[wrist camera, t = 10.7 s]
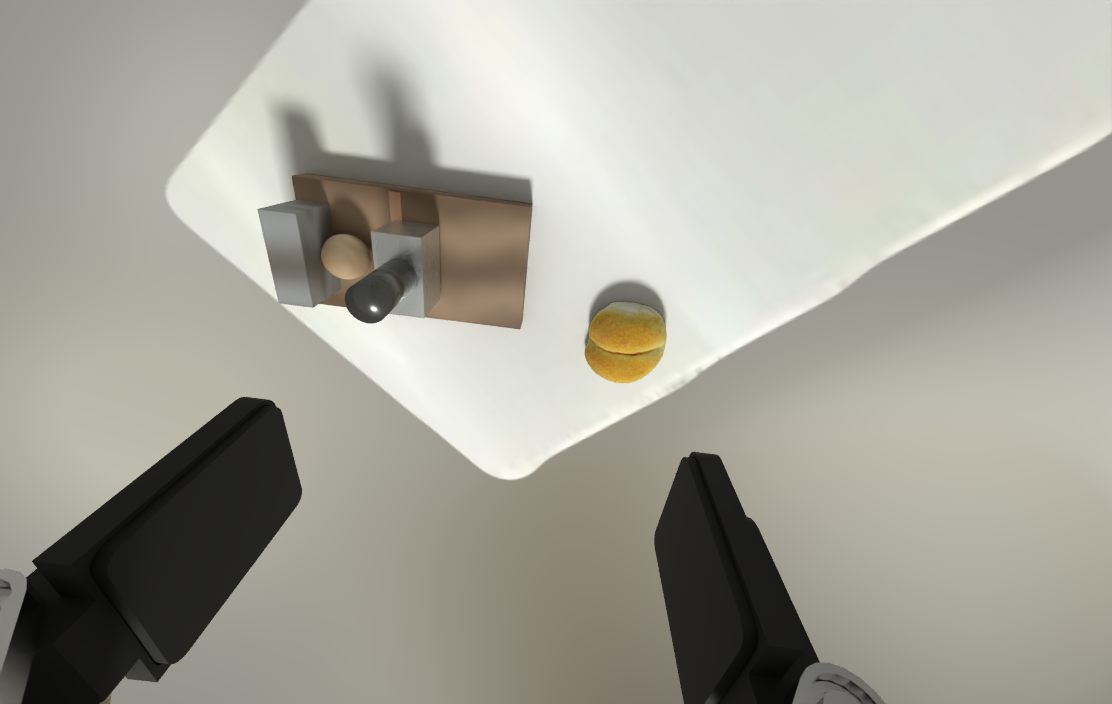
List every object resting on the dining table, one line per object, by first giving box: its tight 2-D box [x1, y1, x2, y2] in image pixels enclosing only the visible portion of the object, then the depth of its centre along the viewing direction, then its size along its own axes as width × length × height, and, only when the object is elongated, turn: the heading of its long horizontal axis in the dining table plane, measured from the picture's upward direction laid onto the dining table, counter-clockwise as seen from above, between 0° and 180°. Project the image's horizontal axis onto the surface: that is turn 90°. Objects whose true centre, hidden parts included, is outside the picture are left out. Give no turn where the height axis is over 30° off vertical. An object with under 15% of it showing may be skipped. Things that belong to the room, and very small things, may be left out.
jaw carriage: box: [345, 220, 441, 323], centre depth 33 cm, size 7×4×11 cm, turn 173°
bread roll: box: [585, 302, 666, 383], centre depth 42 cm, size 8×9×4 cm
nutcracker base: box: [258, 174, 532, 329], centre depth 37 cm, size 12×21×7 cm, turn 83°
